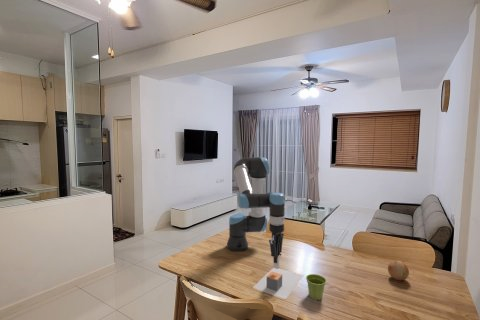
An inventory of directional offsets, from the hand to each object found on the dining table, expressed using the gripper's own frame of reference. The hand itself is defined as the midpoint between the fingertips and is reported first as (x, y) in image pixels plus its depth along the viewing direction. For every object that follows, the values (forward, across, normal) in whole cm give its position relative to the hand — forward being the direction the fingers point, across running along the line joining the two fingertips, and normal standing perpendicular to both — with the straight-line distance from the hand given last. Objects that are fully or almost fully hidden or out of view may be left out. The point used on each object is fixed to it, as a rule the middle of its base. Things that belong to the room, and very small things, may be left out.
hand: (276, 267), depth 130 cm
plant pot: (+10, +2, -20) cm, 22 cm away
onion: (+10, +42, -53) cm, 68 cm away
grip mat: (+9, +4, 0) cm, 10 cm away
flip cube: (+3, -2, 0) cm, 4 cm away
